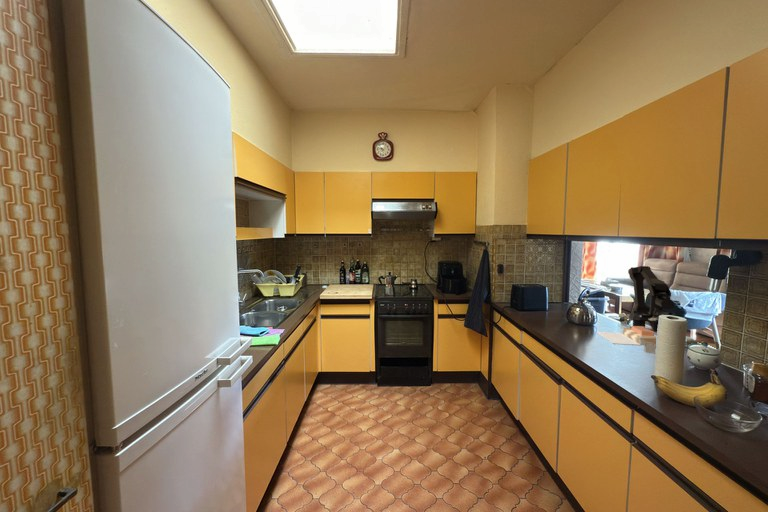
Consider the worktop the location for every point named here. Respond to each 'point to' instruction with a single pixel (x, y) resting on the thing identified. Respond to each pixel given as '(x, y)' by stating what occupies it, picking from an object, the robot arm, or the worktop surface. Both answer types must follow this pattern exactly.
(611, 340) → the mat
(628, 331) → the board
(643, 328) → the tile
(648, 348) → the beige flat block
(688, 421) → the worktop surface
